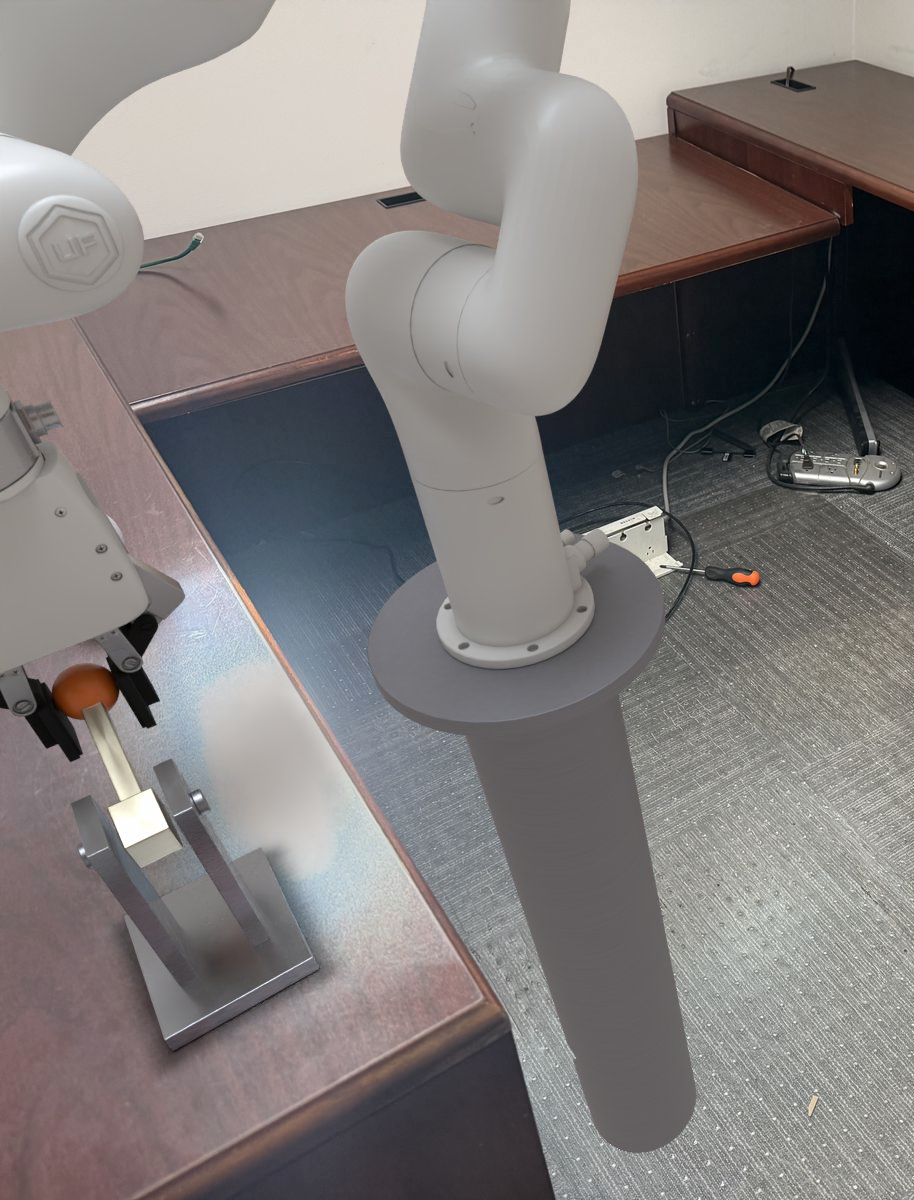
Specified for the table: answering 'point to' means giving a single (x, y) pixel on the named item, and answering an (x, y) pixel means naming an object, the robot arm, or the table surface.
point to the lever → (117, 764)
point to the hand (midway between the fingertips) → (108, 727)
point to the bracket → (199, 919)
